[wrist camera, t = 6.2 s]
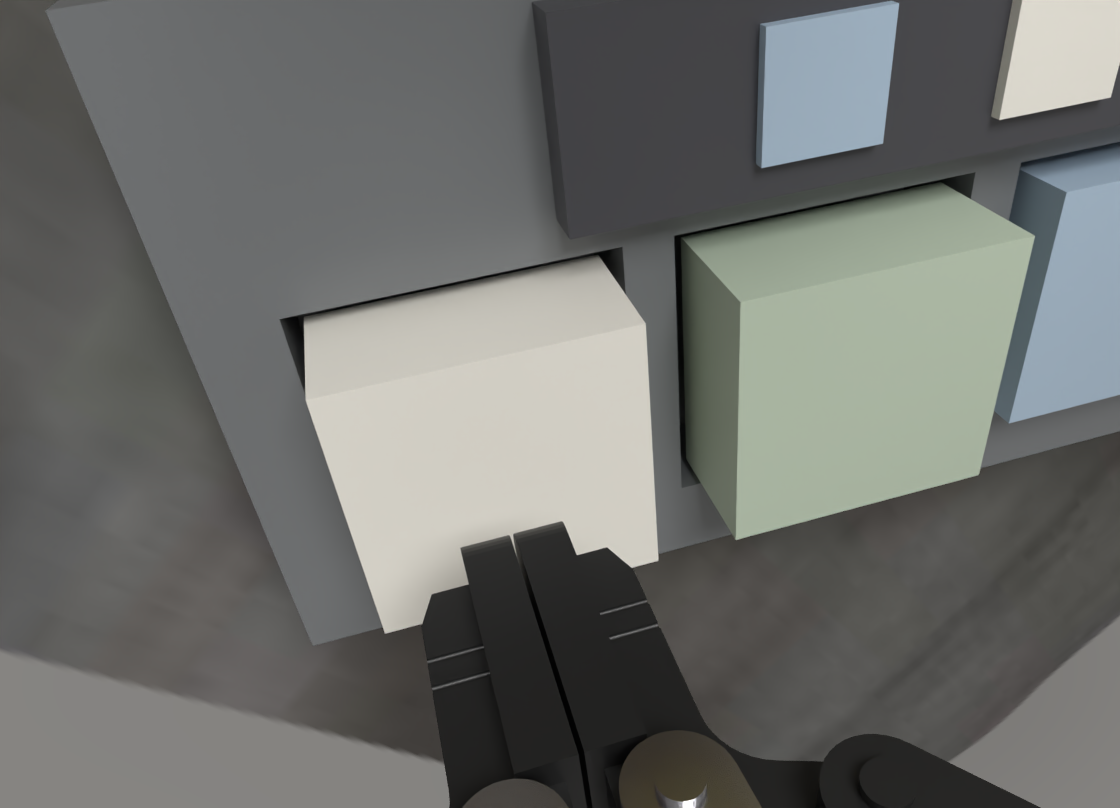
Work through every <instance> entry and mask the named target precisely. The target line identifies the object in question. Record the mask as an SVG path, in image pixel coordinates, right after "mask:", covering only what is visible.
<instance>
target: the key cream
mask: <svg viewBox="0 0 1120 808" xmlns="http://www.w3.org/2000/svg"><path fill="white" fill-rule="evenodd" d="M304 351H305V395H306V403H307V406H308V409H309V412H310V415H311V418H312V421H313V424H314V426H315V429H316V432H317V435H318V438H319V441H320V444H321V447H322V450H323V453H324V456H325V459H326V462H327V465H328V468H329V470H330V473H331V476H332V479H333V482H334V485H335V488H336V491H337V494H338V497H339V500H340V503H341V506H342V509H343V512H344V515H345V517H346V520H347V523H348V526H349V529H350V532H351V535H352V538H353V541H354V544H355V547H356V550H357V553H358V556H359V559H360V562H361V564H362V567H363V570H364V573H365V576H366V579H367V582H368V585H369V588H370V591H371V594H372V597H373V600H374V603H375V606H376V609H377V611H378V614H379V617H380V620H381V623H382V626H383V629H384V632H385V634H386V633H390V632H393V631H397V630H401V629H405V628H408V627H412V626H416V625H420V624H422V623H423V620H424V617H425V614H426V611H427V607H428V604H429V601H430V598H431V595H432V594H434V593H438V592H442V591H446V590H449V589H453V588H457V587H461V586H464V585H468V584H469V583H468V579H467V575H466V571H465V566H464V562H463V558H462V554H461V549H460V548H461V547H465V546H468V545H472V544H476V543H480V542H484V541H488V540H492V539H495V538H499V537H503V536H507V535H510V538H511V540H512V543H513V546H514V550H515V545H514V539H513V534H514V533H518V532H521V531H525V530H529V529H533V528H537V527H541V526H545V525H548V524H552V523H556V522H560V521H562V522H563V523H564V525H565V527H566V529H567V532H568V534H569V537H570V539H571V542H572V544H573V547H574V549H575V552H576V554H577V555H580V554H584V553H587V552H591V551H595V550H599V549H602V548H606V547H607V548H609V549H610V550H611V551H612V552H613V553H614V554H616V555H617V556H618V557H619V558H620V559H622V560H623V561H624V562H625V563H626V564H628V565H629V566H630V567H631V568H633V567H637V566H640V565H644V564H648V563H651V562H655V561H658V542H657V524H656V505H655V486H654V467H653V449H652V430H651V411H650V393H649V374H648V355H647V336H646V323H645V322H644V320H643V319H642V317H641V316H640V315H639V313H638V312H637V310H636V309H635V307H634V306H633V304H632V303H631V302H630V300H629V299H628V297H627V296H626V294H625V293H624V291H623V290H622V288H621V287H620V286H619V284H618V283H617V281H616V280H615V278H614V277H613V275H612V274H611V273H610V271H609V270H608V268H607V267H606V265H605V264H604V262H603V261H602V260H601V258H600V257H599V255H593V256H589V257H584V258H579V259H575V260H570V261H565V262H560V263H556V264H551V265H546V266H541V267H537V268H532V269H527V270H523V271H518V272H513V273H508V274H504V275H499V276H494V277H489V278H485V279H480V280H475V281H471V282H466V283H461V284H456V285H452V286H447V287H442V288H438V289H433V290H428V291H423V292H419V293H414V294H409V295H404V296H400V297H395V298H390V299H386V300H381V301H376V302H371V303H367V304H362V305H357V306H353V307H348V308H343V309H338V310H334V311H329V312H324V313H319V314H315V315H310V316H305V317H304ZM515 553H516V550H515ZM516 556H517V555H516Z"/></svg>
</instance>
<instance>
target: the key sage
mask: <svg viewBox="0 0 1120 808" xmlns="http://www.w3.org/2000/svg"><path fill="white" fill-rule="evenodd" d="M1034 238H1035V235H1033V234H1031V233H1029V232H1027V231H1026V230H1024V229H1022V228H1020V227H1019V226H1017V225H1015V224H1013V223H1012V222H1010V221H1008V220H1006V219H1005V218H1003V217H1001V216H999V215H998V214H996V213H994V212H992V211H991V210H989V209H987V208H985V207H984V206H982V205H980V204H978V203H977V202H975V201H973V200H971V199H970V198H968V197H966V196H964V195H962V194H961V193H959V192H957V191H955V190H954V189H952V188H950V187H948V186H947V185H945V184H943V183H941V182H938V183H934V184H929V185H924V186H919V187H915V188H910V189H905V190H900V191H896V192H891V193H886V194H882V195H877V196H872V197H867V198H863V199H858V200H853V201H848V202H844V203H839V204H834V205H830V206H825V207H820V208H815V209H811V210H806V211H801V212H797V213H792V214H787V215H782V216H778V217H773V218H768V219H763V220H759V221H754V222H749V223H745V224H740V225H735V226H730V227H726V228H721V229H716V230H712V231H707V232H702V233H697V234H693V235H688V236H683V237H681V265H682V307H683V348H684V389H685V430H686V459H687V461H688V463H689V464H690V466H691V467H692V469H693V471H694V472H695V474H696V476H697V477H698V479H699V481H700V482H701V484H702V486H703V487H704V489H705V490H706V492H707V494H708V495H709V497H710V499H711V500H712V502H713V504H714V505H715V507H716V508H717V510H718V512H719V513H720V515H721V517H722V518H723V520H724V522H725V523H726V525H727V527H728V528H729V530H730V531H731V533H732V535H733V536H734V538H735V540H738V539H741V538H745V537H749V536H753V535H756V534H760V533H764V532H767V531H771V530H775V529H779V528H782V527H786V526H790V525H794V524H797V523H801V522H805V521H809V520H812V519H816V518H820V517H824V516H827V515H831V514H835V513H839V512H842V511H846V510H850V509H854V508H857V507H861V506H865V505H869V504H872V503H876V502H880V501H883V500H887V499H891V498H895V497H898V496H902V495H906V494H910V493H913V492H917V491H921V490H925V489H928V488H932V487H936V486H940V485H943V484H947V483H951V482H955V481H958V480H962V479H966V478H970V477H973V476H977V475H979V472H980V468H981V464H982V459H983V455H984V451H985V447H986V442H987V438H988V434H989V430H990V425H991V421H992V417H993V413H994V408H995V404H996V400H997V396H998V391H999V387H1000V383H1001V379H1002V374H1003V370H1004V366H1005V362H1006V357H1007V353H1008V349H1009V345H1010V340H1011V336H1012V332H1013V328H1014V323H1015V319H1016V315H1017V311H1018V306H1019V302H1020V298H1021V294H1022V289H1023V285H1024V281H1025V277H1026V272H1027V268H1028V264H1029V260H1030V255H1031V251H1032V247H1033V243H1034Z"/></svg>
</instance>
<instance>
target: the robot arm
mask: <svg viewBox="0 0 1120 808" xmlns="http://www.w3.org/2000/svg"><path fill="white" fill-rule="evenodd" d="M513 539H514V545H515V550H516V553H515V550H514V546H513V543H512V540H511V538H510V535H507V536H503V537H499V538H495V539H492V540H488V541H484V542H480V543H476V544H472V545H468V546H465V547H461V548H460V549H461V554H462V558H463V562H464V566H465V571H466V575H467V579H468V583H469V584H468V585H464V586H461V587H457V588H453V589H449V590H446V591H442V592H438V593H434V594H432V595H431V598H430V601H429V604H428V607H427V611H426V614H425V617H424V620H423V623H422V626H421V627H422V633H423V639H424V645H425V651H426V657H427V661H428V669H429V675H430V681H431V686H432V691H433V698H434V704H435V710H436V716H437V722H438V728H439V734H440V740H441V746H442V752H443V758H444V764H445V770H446V776H447V782H448V787H449V797H450V807H449V808H1040V807H1038V806H1036V805H1034V804H1032V803H1030V802H1028V801H1026V800H1024V799H1022V798H1020V797H1018V796H1015V795H1014V794H1012V793H1010V792H1008V791H1006V790H1003V789H1001V788H999V787H997V786H995V785H993V784H991V783H989V782H987V781H985V780H983V779H981V778H979V777H977V776H975V775H973V774H971V773H969V772H967V771H965V770H963V769H961V768H958V767H956V766H955V765H953V764H950V763H948V762H946V761H944V760H942V759H940V758H938V757H936V756H934V755H932V754H930V753H928V752H926V751H924V750H922V749H920V748H918V747H916V746H914V745H912V744H910V743H908V742H905V741H903V740H900V739H898V738H894V737H890V736H887V735H879V734H864V735H858V736H854V737H851V738H848V739H846V740H844V741H842V742H841V743H839V744H837V745H836V746H835V747H834V748H833V749H832V750H831V751H830V752H829V753H828V755H827V756H826V758H825V759H824V762H817V761H776V760H765V759H760V758H755V757H751V756H749V755H746V754H743V753H740V752H739V751H737V750H735V749H733V748H731V747H729V746H728V745H726V744H725V743H724V742H722V741H721V740H720V739H719V738H718V737H717V736H716V735H714V734H713V733H712V731H711V730H710V729H709V728H708V726H707V725H706V724H705V722H704V720H703V718H702V717H701V715H700V713H699V711H698V708H697V706H696V704H695V702H694V700H693V698H692V696H691V693H690V691H689V689H688V687H687V685H686V683H685V680H684V678H683V676H682V674H681V672H680V670H679V667H678V665H677V663H676V661H675V659H674V657H673V655H672V652H671V650H670V648H669V646H668V644H667V642H666V639H665V637H664V635H663V633H662V631H661V629H660V628H659V627H658V623H657V620H656V618H655V616H654V614H653V611H652V609H651V607H650V605H649V604H648V603H647V599H646V596H645V594H644V592H643V590H642V588H641V585H640V583H639V581H638V579H637V577H636V575H635V573H634V570H633V569H632V568H631V567H630V566H629V565H628V564H626V563H625V562H624V561H623V560H622V559H620V558H619V557H618V556H617V555H616V554H614V553H613V552H612V551H611V550H610V549H609V548H607V547H606V548H602V549H599V550H595V551H591V552H587V553H584V554H580V555H577V554H576V552H575V549H574V547H573V544H572V542H571V539H570V537H569V534H568V532H567V529H566V527H565V525H564V523H563V522H562V521H560V522H556V523H552V524H548V525H545V526H541V527H537V528H533V529H529V530H525V531H521V532H518V533H514V534H513ZM516 555H517V556H516Z"/></svg>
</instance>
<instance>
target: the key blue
mask: <svg viewBox="0 0 1120 808" xmlns="http://www.w3.org/2000/svg"><path fill="white" fill-rule="evenodd" d="M1009 221H1010V222H1012V223H1013V224H1015V225H1017V226H1019V227H1020V228H1022V229H1024V230H1026V231H1027V232H1029V233H1031V234H1033V235H1035V238H1034V243H1033V247H1032V251H1031V255H1030V260H1029V264H1028V268H1027V272H1026V277H1025V281H1024V285H1023V289H1022V294H1021V298H1020V302H1019V306H1018V311H1017V315H1016V319H1015V323H1014V328H1013V332H1012V336H1011V340H1010V345H1009V349H1008V353H1007V357H1006V362H1005V366H1004V370H1003V374H1002V379H1001V383H1000V387H999V391H998V396H997V400H996V404H995V408H994V411H995V412H996V413H997V414H998V415H999V416H1001V417H1002V418H1003V419H1004V420H1005V421H1007V422H1008V423H1013V422H1017V421H1020V420H1024V419H1028V418H1032V417H1036V416H1040V415H1044V414H1047V413H1051V412H1055V411H1059V410H1063V409H1067V408H1071V407H1074V406H1078V405H1082V404H1086V403H1090V402H1094V401H1098V400H1101V399H1105V398H1109V397H1113V396H1117V395H1120V142H1116V143H1111V144H1106V145H1102V146H1097V147H1092V148H1088V149H1083V150H1078V151H1073V152H1069V153H1064V154H1059V155H1054V156H1050V157H1045V158H1040V159H1035V160H1031V161H1026V162H1021V166H1020V170H1019V175H1018V180H1017V184H1016V189H1015V194H1014V198H1013V203H1012V208H1011V212H1010V217H1009Z"/></svg>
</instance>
